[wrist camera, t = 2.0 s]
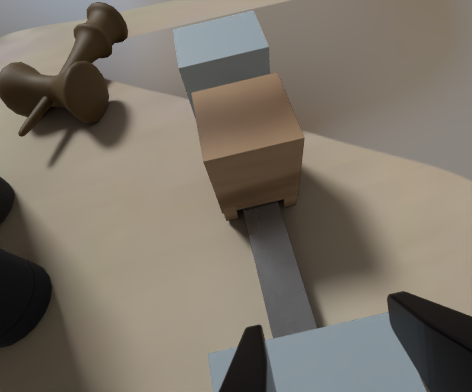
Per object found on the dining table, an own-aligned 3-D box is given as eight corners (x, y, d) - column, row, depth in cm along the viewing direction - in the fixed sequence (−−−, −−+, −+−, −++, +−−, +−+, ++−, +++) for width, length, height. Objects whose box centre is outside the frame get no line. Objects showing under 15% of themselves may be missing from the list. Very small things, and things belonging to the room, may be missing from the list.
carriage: (297, 204, 24) (304, 137, 17) (225, 221, 24) (203, 161, 17) (277, 148, 27) (277, 72, 20) (213, 163, 27) (191, 92, 20)
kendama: (152, 42, 40) (79, 160, 30) (91, 42, 42) (6, 151, 33) (133, -7, 35) (38, 115, 25) (64, -4, 37) (-46, 109, 27)
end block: (270, 100, 31) (268, 46, 26) (195, 118, 31) (178, 68, 26) (257, 64, 34) (253, 10, 29) (188, 80, 34) (172, 29, 29)
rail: (315, 334, 20) (318, 332, 18) (274, 344, 20) (274, 342, 18) (246, 106, 31) (244, 94, 30) (219, 112, 31) (217, 101, 30)
